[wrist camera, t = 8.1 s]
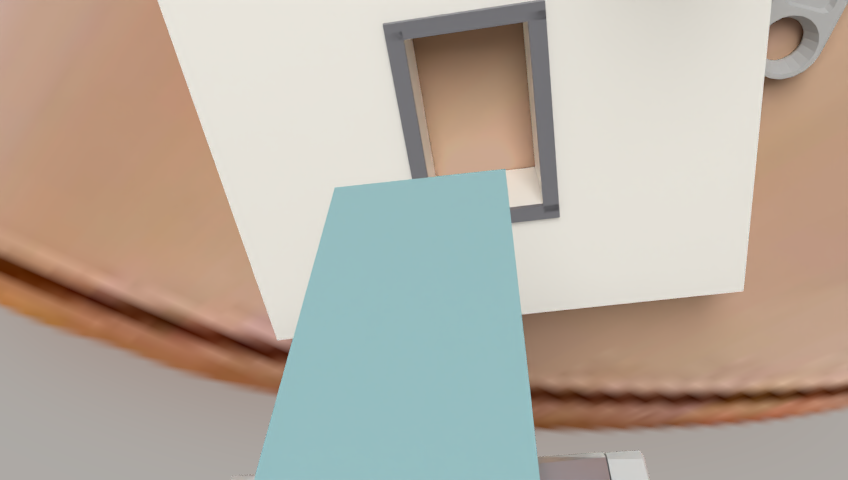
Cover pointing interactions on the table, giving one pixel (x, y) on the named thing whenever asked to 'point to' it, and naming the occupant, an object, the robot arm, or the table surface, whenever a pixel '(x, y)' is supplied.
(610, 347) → the table surface
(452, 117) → the table surface
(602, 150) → the socket plate
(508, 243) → the flat bar
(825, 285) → the table surface
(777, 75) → the adjustable wrench
